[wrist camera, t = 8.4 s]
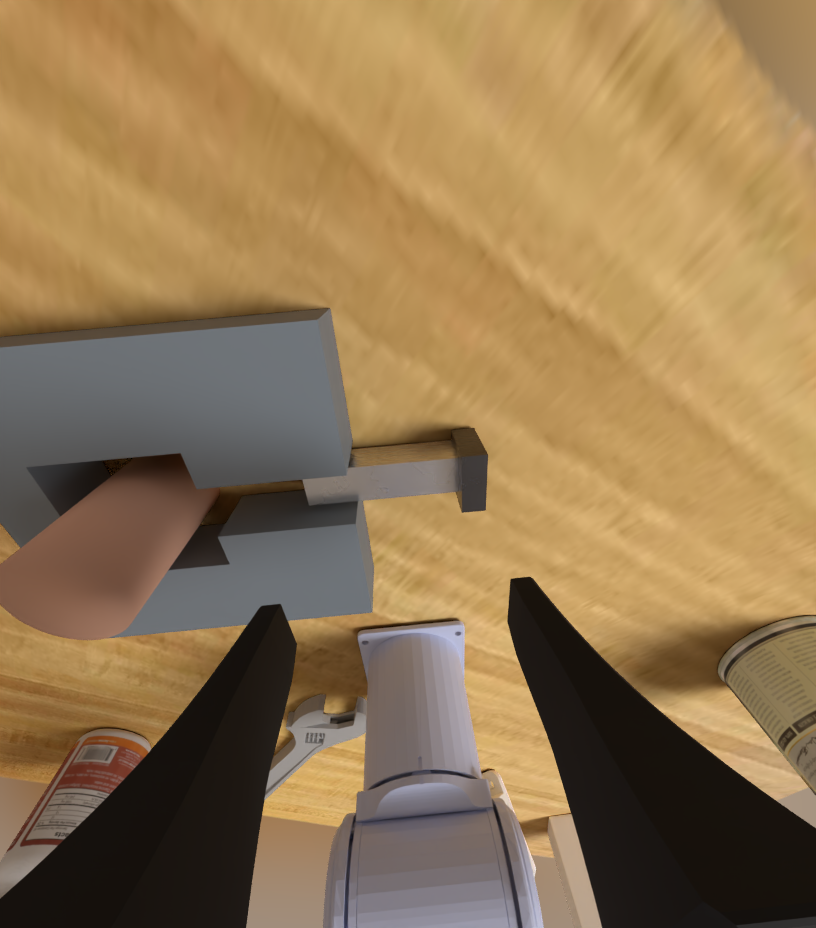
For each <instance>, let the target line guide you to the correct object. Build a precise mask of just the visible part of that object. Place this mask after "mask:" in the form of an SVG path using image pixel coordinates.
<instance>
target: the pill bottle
mask: <svg viewBox="0 0 816 928" xmlns="http://www.w3.org/2000/svg"><path fill="white" fill-rule="evenodd" d="M150 750H151V746H150V744H149V742H148V741H147V740H146V739H145V738H144V737H142V736H140V735H138V734H135V733H133V732H129V731H125V730H120V729H98V730H94V731H91V732H88V733H86V734H85V735H83V736H82V737H80V738H79V740H78V741H77V742H76V743H75V745H74V746H73V748H72V749H71V751H70V752H69V754H68V756H67V757H66V759H65V760H64V762H63V764H62V765H61V767H60V768H59V770H58V772H57V773H56V775H55V776H54V778H53V779H52V781H51V783H50V784H49V786H48V787H47V789H46V791H45V792H44V794H43V795H42V797H41V798H40V800H39V802H38V803H37V805H36V807H35V808H34V809H33V811H32V813H31V814H30V816H29V817H28V819H27V820H26V822H25V823H24V825H23V827H22V828H21V830H20V831H19V833H18V834H17V836H16V838H15V839H14V841H13V842H12V844H11V845H10V847H9V849H8V850H7V852H6V854H5V855H4V857H3V858H2V860H1V862H0V898H1V897H2V896H3V895H5V894H6V893H7V892H8V891H9V890H10V889H11V888H12V887H14V886H15V885H16V884H17V883H18V882H19V881H20V880H21V879H23V878H24V877H25V876H26V875H27V874H28V873H29V872H30V871H31V870H33V869H34V868H35V867H36V866H37V865H38V864H39V863H40V862H41V861H42V860H43V859H44V858H45V857H46V856H47V855H49V854H50V853H51V852H52V851H53V850H54V849H55V848H56V847H57V846H58V845H59V844H60V843H61V842H62V841H63V840H64V839H65V838H66V837H67V836H68V835H69V834H70V833H71V832H72V831H73V830H74V829H75V828H76V827H77V826H78V825H79V824H80V823H81V822H82V821H84V820H85V819H86V818H87V817H88V816H89V815H90V814H91V813H92V812H93V811H94V810H95V809H96V808H97V807H98V806H99V805H100V804H101V803H102V802H103V801H104V800H105V799H106V798H107V797H108V796H109V795H110V793H111V792H112V791H113V790H114V789H115V788H116V787H117V786H118V785H119V784H120V783H121V782H122V781H123V780H124V779H125V778H126V777H127V775H128V774H129V773H130V772H131V771H132V770H133V769H134V768H135V767H136V766H137V765H138V764H139V763H140V761H141V760H142V759H143V758H144V757H145V756H146V755H147V754H148V753H149V751H150Z"/></svg>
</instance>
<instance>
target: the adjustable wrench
mask: <svg viewBox="0 0 816 928" xmlns="http://www.w3.org/2000/svg"><path fill="white" fill-rule="evenodd" d="M325 697H326V695H323V694H320V695H317V696H314V697H311V698H309V699H307V700H306V701H304V702H303V703H301V704H300V705H299V706H298V708H297V709H296V710H295V712H289V715H288V720H287V724H286V728H287V729H288V730H289V731H291V732H292V733H293V735H294V738H293V739H292V740H291V741H290V742H289V743H288V744H287V745H286V746H284V747H283V748H282V749H281V750H280V751H279V752H278V753H277V754H276V755H275V756H274V757H273V759H272V763H271V768H270V773H269V777H268V782H267V787H266V793H265V799H266V798H267V797H269V796H270V795H271V794H272V793H273V792H274V791H275V790H276V789H277V788H278V787H279V786H280V785H281V784H283V783H284V782H285V781H286V780H287V779H288V778H289V777H290V776H291V775H292V774H293V773H294V772H296V771H297V770H298V769H299V768H300V767H301V766H302V765H303V764H304V763H305V762H306V761H307V760H308V759H310V758H311V757H312V756H313V755H314V754H316V753H317V752H319V751H321V750H323V749H326V748H328V747H331V746H333V745H336V744H338V743H341V742H345V741H348V740H351V739H354V738H357V737H359V736H361V735H363V734H364V733H365V732H366V715H367V701H366V700H365V699H364V698H363V697H358V698H357V702H356V706H355V710H354V711H350V712H346V713H342V714H328V713H323V711H324V704H325ZM265 799H264V800H265Z"/></svg>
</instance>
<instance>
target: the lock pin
mask: <svg viewBox="0 0 816 928" xmlns="http://www.w3.org/2000/svg"><path fill="white" fill-rule="evenodd" d="M451 437H452V440H448V441H437V442H426V443H415V444H404V445H393V446H382V447H371V448H361V449H351V454H350V459H349V465H348V471H347V475H346V476H335V477H324V478H314V479H303V484H304V488H305V492H306V496H307V499H308V503H309V506H310V505H320V504H331V503H342V502H352V501H363V500H374V499H384V498H395V497H406V496H416V495H427V494H438V493H448V492H456V495H457V498H458V502H459V505H460V508H461V511H462V513H463V512H473V511H484V510H486V488H487V464H488V454H487V452H486V450H485V448H484V446H483V444H482V442H481V441H480V439H479V437H478V435H477V433H476V431H475V429H474V428H468V429H457V430H451Z"/></svg>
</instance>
